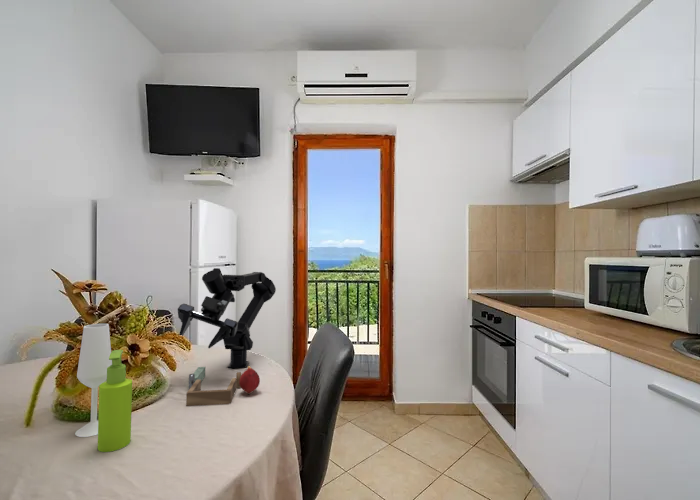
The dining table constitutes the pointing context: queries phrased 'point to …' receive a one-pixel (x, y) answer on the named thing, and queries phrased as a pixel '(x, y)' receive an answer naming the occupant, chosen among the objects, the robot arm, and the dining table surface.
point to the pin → (191, 380)
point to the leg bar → (199, 373)
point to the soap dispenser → (115, 407)
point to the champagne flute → (93, 368)
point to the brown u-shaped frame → (212, 393)
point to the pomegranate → (249, 380)
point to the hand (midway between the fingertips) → (194, 342)
